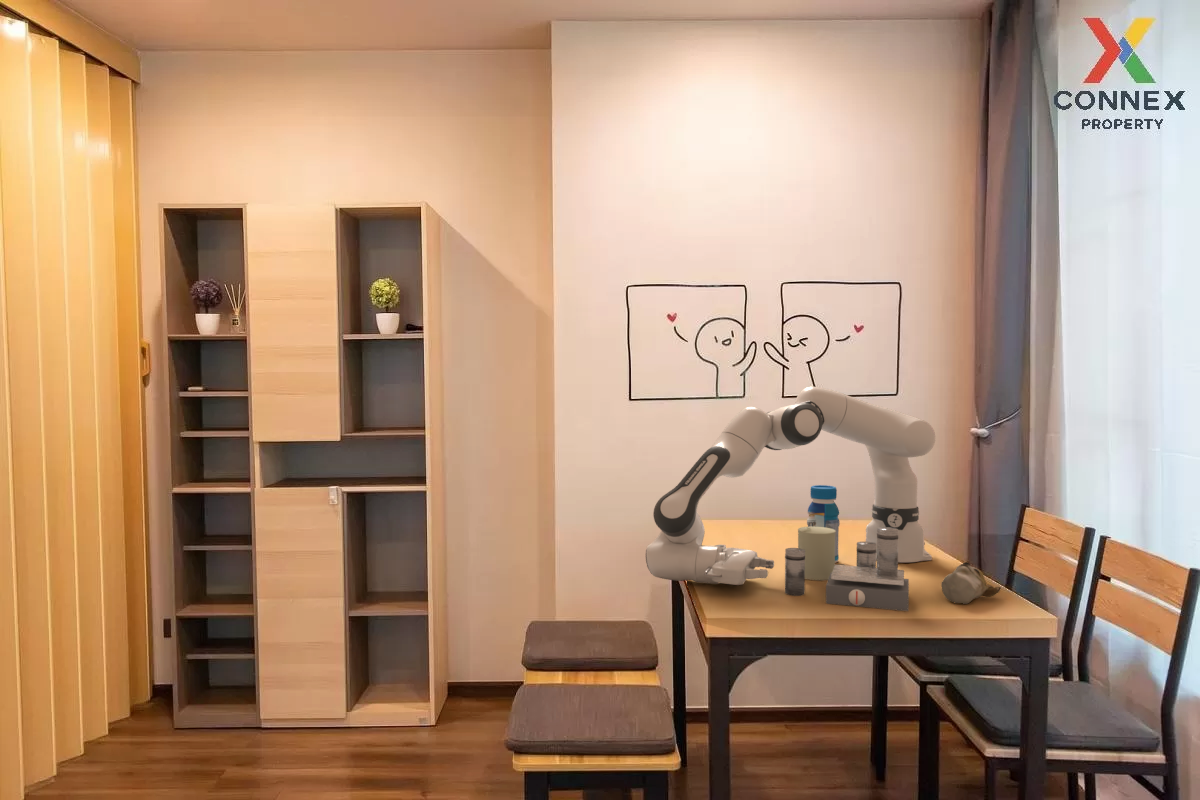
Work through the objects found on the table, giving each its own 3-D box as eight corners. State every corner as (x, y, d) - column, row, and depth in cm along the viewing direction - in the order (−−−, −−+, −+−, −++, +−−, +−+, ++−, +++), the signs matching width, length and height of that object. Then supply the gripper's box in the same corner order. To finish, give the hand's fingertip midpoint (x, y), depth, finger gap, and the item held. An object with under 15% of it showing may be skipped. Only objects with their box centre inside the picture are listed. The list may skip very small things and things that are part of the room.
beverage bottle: (840, 565, 216) (841, 489, 215) (807, 563, 217) (808, 488, 217) (837, 558, 224) (838, 484, 223) (805, 556, 226) (806, 484, 225)
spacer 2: (856, 581, 199) (857, 540, 198) (876, 583, 197) (876, 542, 197) (855, 586, 195) (856, 544, 194) (875, 588, 193) (876, 546, 193)
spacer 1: (785, 589, 192) (786, 547, 191) (805, 591, 190) (806, 548, 190) (783, 594, 188) (783, 551, 187) (803, 596, 186) (804, 552, 186)
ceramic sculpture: (930, 561, 183) (957, 554, 193) (927, 600, 183) (955, 591, 193) (979, 570, 175) (1005, 562, 185) (977, 610, 175) (1003, 601, 186)
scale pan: (834, 568, 190) (835, 564, 190) (903, 574, 185) (904, 570, 185) (831, 579, 181) (831, 574, 181) (903, 585, 176) (903, 580, 176)
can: (789, 573, 207) (790, 525, 207) (820, 570, 211) (821, 523, 210) (811, 582, 199) (812, 532, 198) (843, 578, 202) (843, 530, 202)
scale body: (830, 589, 192) (830, 572, 192) (908, 596, 186) (908, 579, 186) (825, 603, 180) (825, 585, 180) (908, 611, 174) (908, 593, 174)
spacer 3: (876, 570, 185) (877, 526, 184) (898, 572, 183) (898, 527, 183) (875, 575, 180) (876, 530, 180) (897, 577, 179) (898, 531, 178)
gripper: (701, 561, 186) (763, 566, 181) (720, 542, 205) (777, 546, 200) (701, 589, 186) (763, 594, 181) (721, 568, 205) (777, 572, 200)
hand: (770, 569), depth 191 cm, fingers open, 8 cm apart
